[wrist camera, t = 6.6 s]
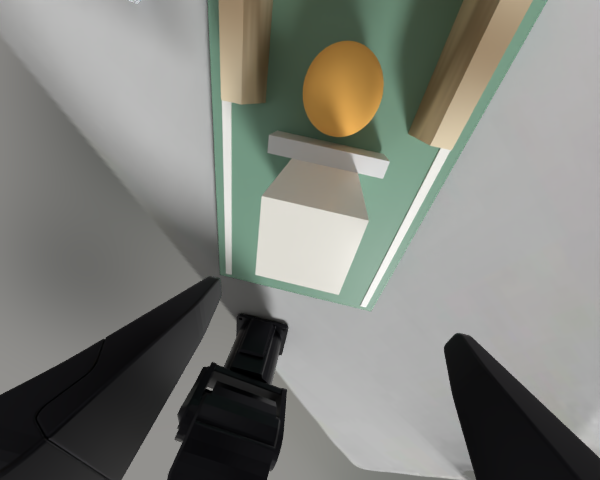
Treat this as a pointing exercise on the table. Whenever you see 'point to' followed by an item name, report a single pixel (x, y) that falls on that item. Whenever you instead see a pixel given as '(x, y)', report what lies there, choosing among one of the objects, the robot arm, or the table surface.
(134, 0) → the book
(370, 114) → the ball
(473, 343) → the robot arm
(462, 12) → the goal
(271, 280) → the board
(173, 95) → the table surface
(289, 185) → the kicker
